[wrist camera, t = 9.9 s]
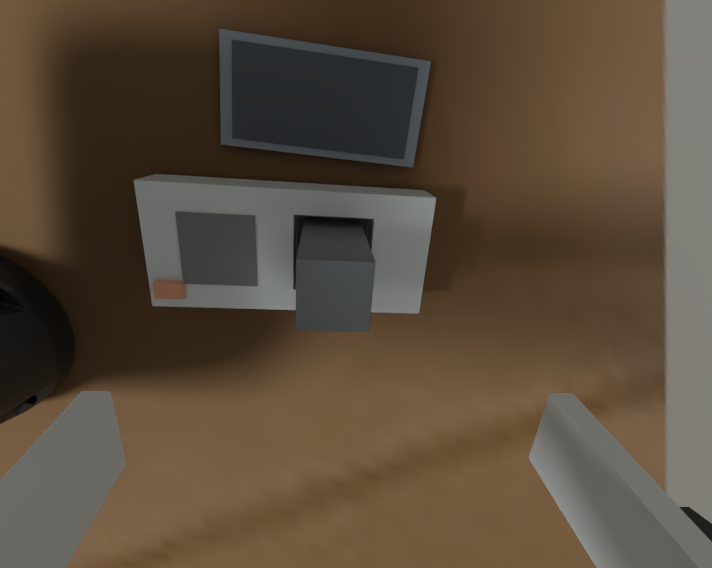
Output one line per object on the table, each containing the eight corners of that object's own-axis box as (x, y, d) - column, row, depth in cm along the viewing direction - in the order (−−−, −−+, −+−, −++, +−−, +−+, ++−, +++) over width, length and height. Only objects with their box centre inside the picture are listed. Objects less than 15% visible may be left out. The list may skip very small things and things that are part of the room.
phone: (410, 166, 29) (413, 167, 28) (224, 143, 28) (220, 144, 27) (427, 63, 27) (431, 61, 26) (223, 32, 25) (218, 28, 24)
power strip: (170, 287, 31) (148, 309, 27) (155, 173, 27) (128, 181, 24) (409, 295, 33) (420, 317, 29) (424, 190, 29) (438, 199, 26)
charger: (304, 268, 30) (295, 330, 21) (305, 217, 29) (296, 259, 20) (355, 270, 31) (369, 331, 22) (359, 219, 29) (375, 262, 20)
